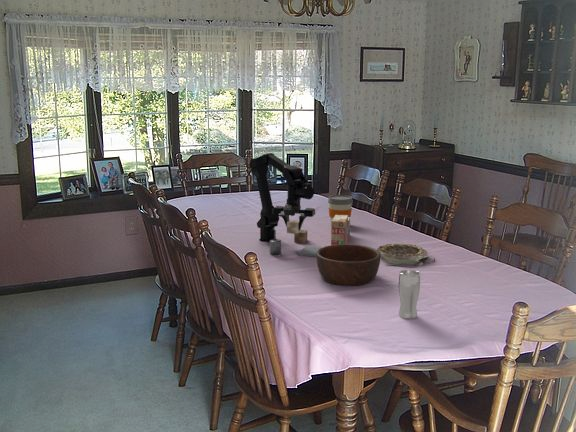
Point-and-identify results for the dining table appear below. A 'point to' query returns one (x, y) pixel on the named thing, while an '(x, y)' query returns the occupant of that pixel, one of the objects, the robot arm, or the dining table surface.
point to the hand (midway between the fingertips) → (293, 229)
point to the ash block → (293, 226)
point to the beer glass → (409, 293)
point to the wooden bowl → (348, 264)
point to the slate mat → (309, 251)
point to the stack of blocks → (340, 229)
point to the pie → (403, 254)
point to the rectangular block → (301, 236)
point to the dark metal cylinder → (275, 247)
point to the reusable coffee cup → (339, 205)
